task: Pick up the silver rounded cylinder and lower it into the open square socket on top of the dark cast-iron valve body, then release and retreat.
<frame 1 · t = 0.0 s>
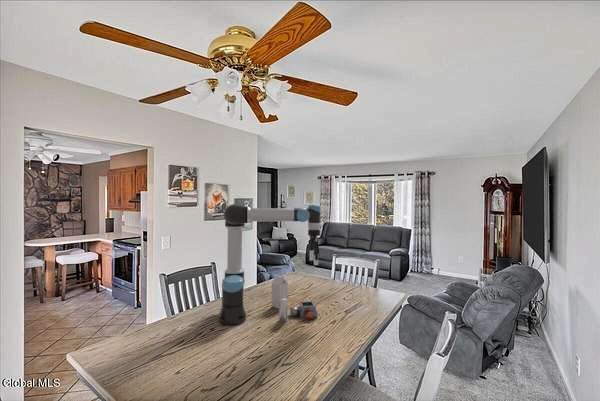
hand: (313, 262, 182), 28 cm above the table, fingers open, 13 cm apart
silver rounded cylinder: (283, 320, 160), on the table
milk carton: (279, 306, 182), on the table
glossy bronze sphere: (311, 309, 177), on the table
valve body: (307, 314, 169), on the table
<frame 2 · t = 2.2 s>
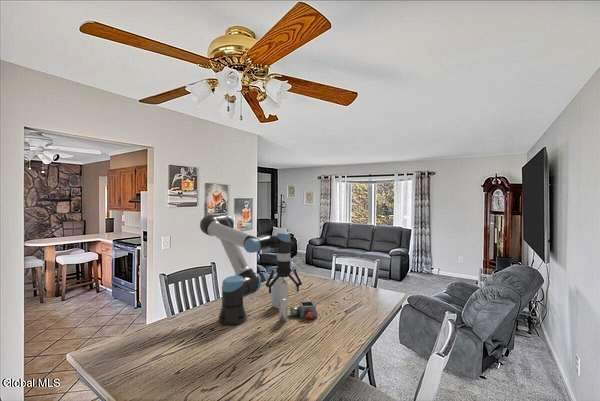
hand: (283, 298, 160), 13 cm above the table, fingers open, 13 cm apart
nothing on the table moved.
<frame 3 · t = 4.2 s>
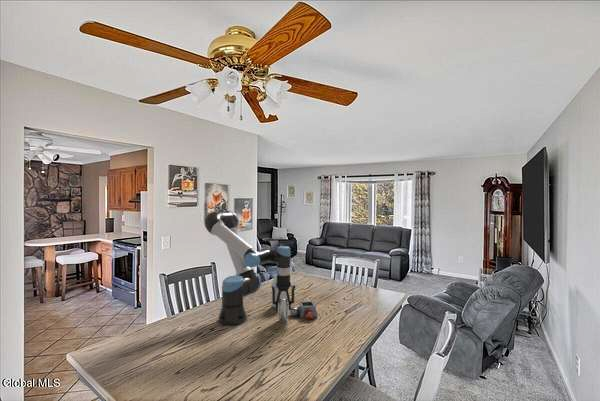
hand: (283, 315, 160), 3 cm above the table, fingers closed on silver rounded cylinder, 5 cm apart
silver rounded cylinder: (283, 320, 160), on the table, touching gripper
everything else where it was.
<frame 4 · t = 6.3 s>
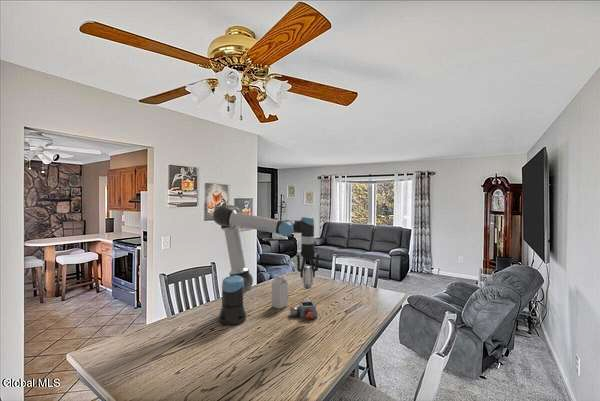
hand: (307, 282, 168), 19 cm above the table, fingers closed on silver rounded cylinder, 5 cm apart
silver rounded cylinder: (307, 287, 168), point 16 cm above the table, touching gripper
everything else where it was.
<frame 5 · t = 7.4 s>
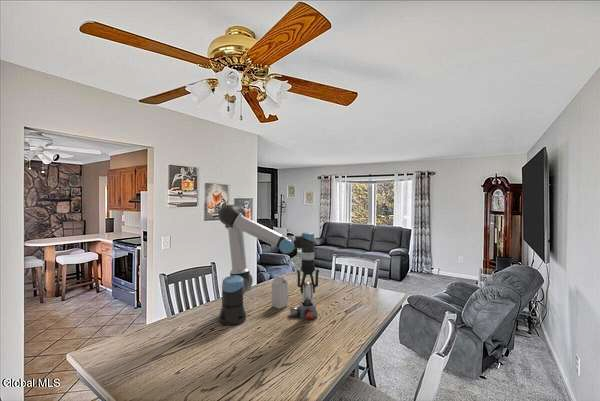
hand: (307, 298, 169), 10 cm above the table, fingers closed on silver rounded cylinder, 5 cm apart
silver rounded cylinder: (307, 303, 169), point 7 cm above the table, touching gripper
everything else where it was.
when the fingers open (8 cm above the table, at t = 8.4 s): silver rounded cylinder stays where it is, resting on valve body.
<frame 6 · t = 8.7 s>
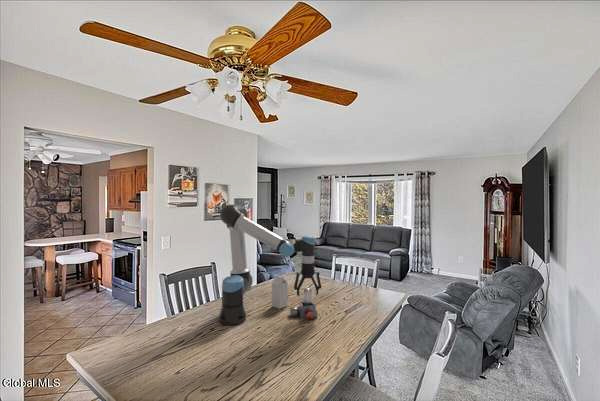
hand: (307, 300, 169), 8 cm above the table, fingers open, 9 cm apart
silver rounded cylinder: (307, 309, 169), point 4 cm above the table, touching valve body
everything else where it was.
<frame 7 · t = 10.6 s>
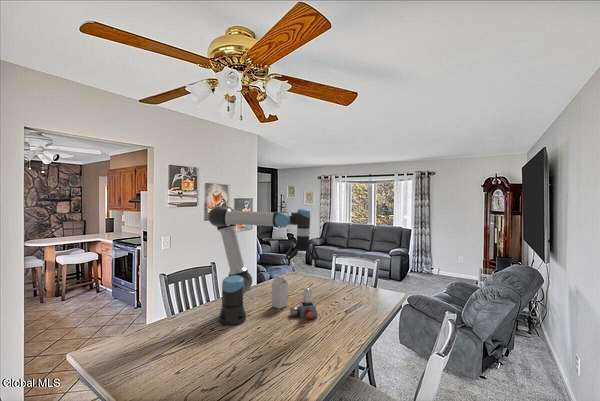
hand: (301, 271, 170), 26 cm above the table, fingers open, 13 cm apart
nothing on the table moved.
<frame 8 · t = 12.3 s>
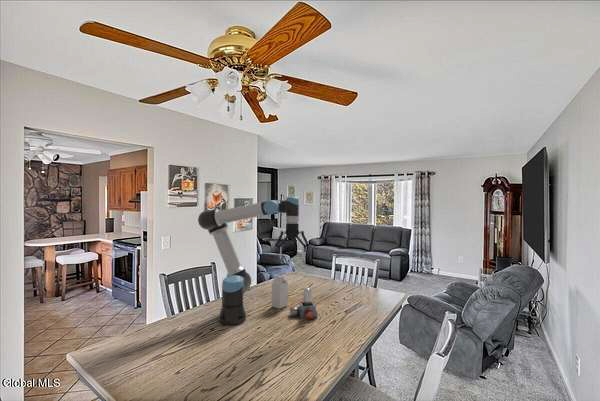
hand: (291, 258, 171), 33 cm above the table, fingers open, 13 cm apart
nothing on the table moved.
at the end: silver rounded cylinder 0.1 cm off-centre on the valve body, point 3.5 cm above the valve body's base; silver rounded cylinder tilted 0°; the gripper is holding nothing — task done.
